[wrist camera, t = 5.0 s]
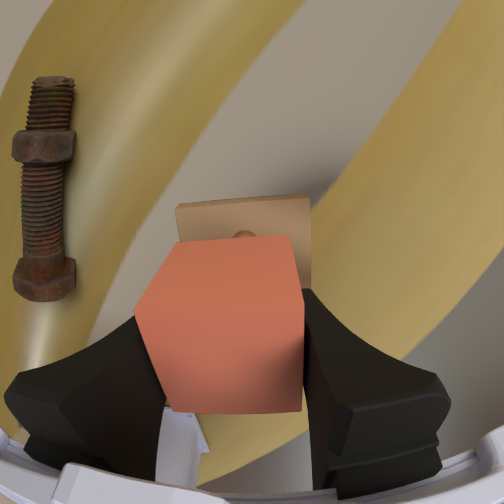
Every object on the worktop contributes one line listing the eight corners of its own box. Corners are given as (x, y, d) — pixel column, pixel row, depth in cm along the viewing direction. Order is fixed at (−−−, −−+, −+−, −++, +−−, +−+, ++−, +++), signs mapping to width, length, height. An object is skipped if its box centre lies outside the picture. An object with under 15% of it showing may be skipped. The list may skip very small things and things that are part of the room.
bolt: (91, 83, 17) (76, 266, 23) (30, 82, 14) (24, 267, 20) (88, 73, 13) (75, 305, 18) (10, 74, 10) (11, 306, 15)
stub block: (308, 325, 22) (315, 363, 18) (203, 330, 23) (194, 368, 19) (307, 193, 18) (319, 212, 14) (179, 203, 19) (159, 225, 15)
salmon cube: (291, 326, 14) (301, 411, 9) (195, 330, 14) (173, 412, 10) (288, 234, 12) (304, 304, 7) (176, 242, 12) (133, 310, 8)
